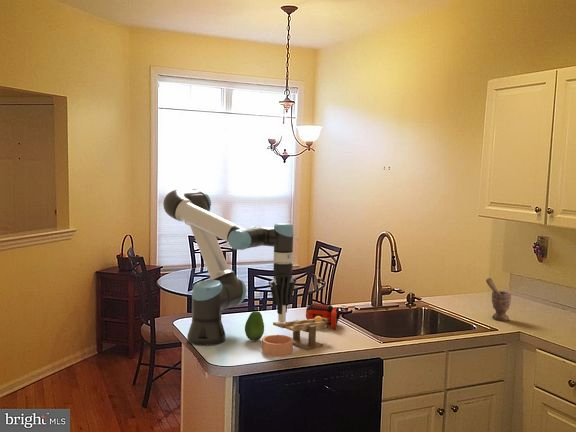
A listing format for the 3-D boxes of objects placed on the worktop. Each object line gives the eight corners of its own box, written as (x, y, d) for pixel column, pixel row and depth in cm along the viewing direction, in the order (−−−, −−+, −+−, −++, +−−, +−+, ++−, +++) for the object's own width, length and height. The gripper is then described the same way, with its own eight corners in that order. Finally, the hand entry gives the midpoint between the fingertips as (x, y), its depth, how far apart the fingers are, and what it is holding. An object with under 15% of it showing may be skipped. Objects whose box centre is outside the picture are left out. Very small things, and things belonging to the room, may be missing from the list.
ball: (317, 324, 214) (319, 316, 215) (312, 322, 217) (313, 314, 217) (323, 325, 216) (324, 317, 217) (317, 323, 219) (319, 315, 219)
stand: (307, 350, 205) (308, 328, 204) (285, 341, 214) (286, 321, 214) (322, 346, 210) (323, 325, 209) (300, 338, 220) (300, 318, 219)
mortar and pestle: (494, 322, 250) (496, 280, 249) (481, 317, 258) (483, 277, 257) (513, 320, 254) (516, 279, 253) (500, 316, 262) (502, 276, 261)
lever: (292, 334, 203) (294, 323, 203) (272, 327, 212) (273, 316, 212) (327, 330, 216) (328, 319, 216) (307, 323, 225) (307, 313, 225)
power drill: (310, 299, 248) (342, 302, 244) (310, 318, 250) (341, 321, 245) (302, 309, 234) (335, 313, 230) (301, 328, 235) (335, 332, 231)
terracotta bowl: (275, 358, 195) (275, 346, 195) (255, 350, 204) (256, 338, 203) (298, 352, 203) (299, 340, 202) (278, 344, 211) (279, 333, 211)
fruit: (268, 340, 216) (268, 311, 215) (254, 344, 210) (254, 314, 209) (254, 336, 221) (255, 307, 220) (240, 340, 215) (240, 311, 214)
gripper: (276, 265, 202) (275, 326, 204) (301, 262, 211) (300, 320, 213) (264, 262, 208) (263, 322, 210) (289, 259, 216) (287, 316, 218)
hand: (281, 321), depth 211 cm, fingers closed
